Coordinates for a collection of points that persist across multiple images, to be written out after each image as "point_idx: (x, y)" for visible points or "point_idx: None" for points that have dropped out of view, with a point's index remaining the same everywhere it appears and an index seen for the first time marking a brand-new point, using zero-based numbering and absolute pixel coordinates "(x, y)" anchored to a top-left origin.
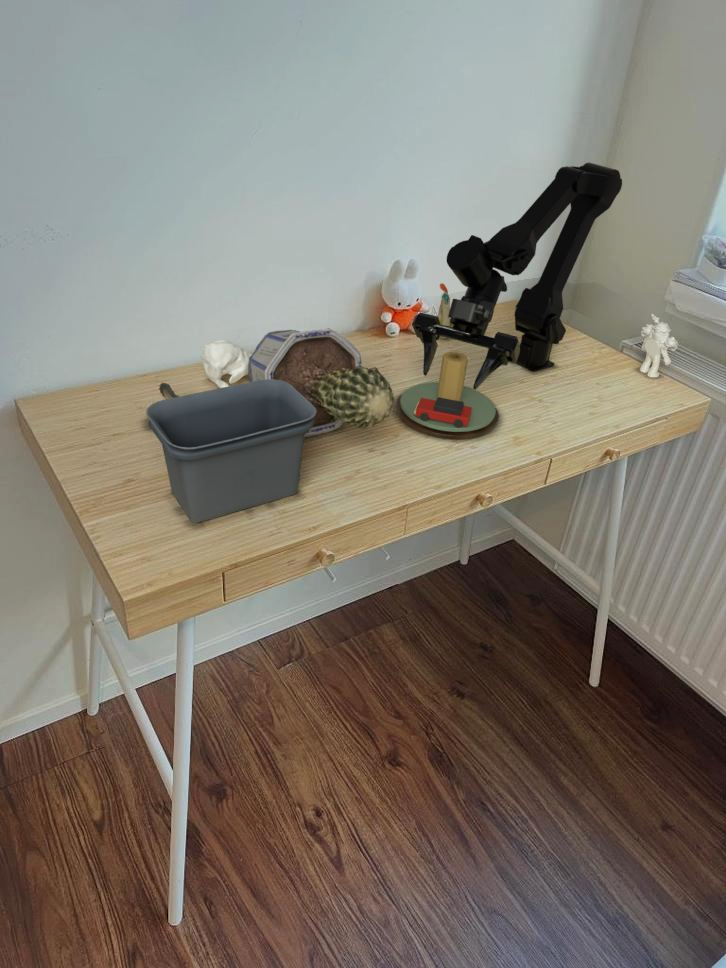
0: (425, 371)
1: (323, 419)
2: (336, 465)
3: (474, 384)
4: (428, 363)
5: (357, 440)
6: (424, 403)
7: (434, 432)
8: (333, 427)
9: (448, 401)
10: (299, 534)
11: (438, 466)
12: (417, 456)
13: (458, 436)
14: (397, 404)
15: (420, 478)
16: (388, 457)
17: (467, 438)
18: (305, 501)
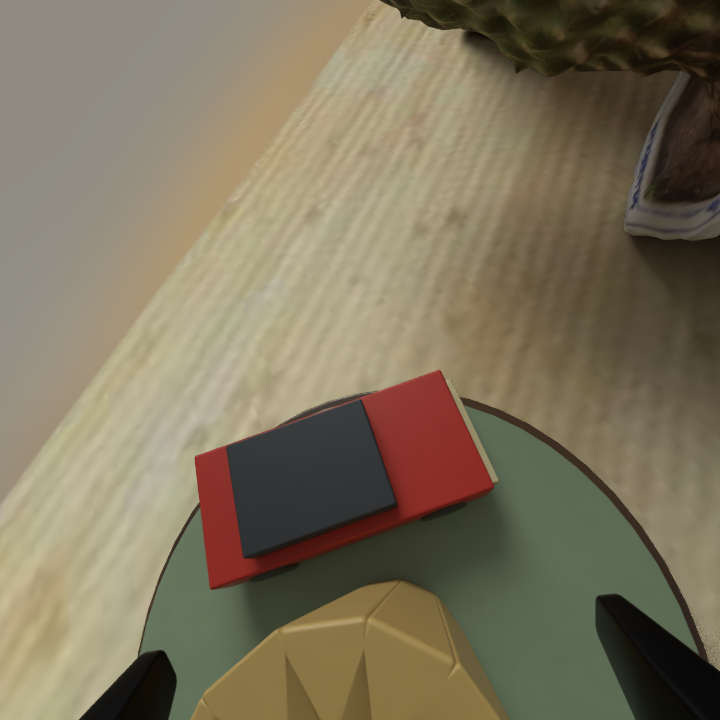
0: (609, 605)
1: (670, 161)
2: (475, 128)
3: (144, 666)
4: (667, 693)
5: (525, 228)
6: (439, 438)
7: (341, 400)
8: (631, 207)
9: (320, 494)
10: (378, 2)
11: (258, 277)
12: (331, 277)
13: None
14: (616, 506)
15: (277, 211)
16: (395, 224)
17: None
18: (431, 38)
